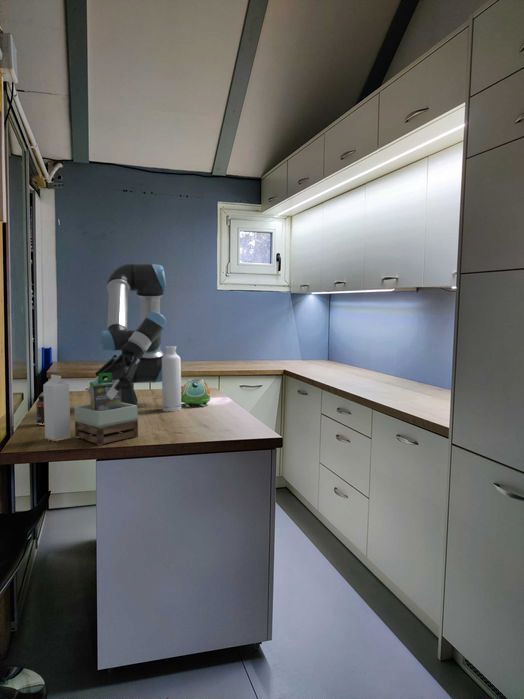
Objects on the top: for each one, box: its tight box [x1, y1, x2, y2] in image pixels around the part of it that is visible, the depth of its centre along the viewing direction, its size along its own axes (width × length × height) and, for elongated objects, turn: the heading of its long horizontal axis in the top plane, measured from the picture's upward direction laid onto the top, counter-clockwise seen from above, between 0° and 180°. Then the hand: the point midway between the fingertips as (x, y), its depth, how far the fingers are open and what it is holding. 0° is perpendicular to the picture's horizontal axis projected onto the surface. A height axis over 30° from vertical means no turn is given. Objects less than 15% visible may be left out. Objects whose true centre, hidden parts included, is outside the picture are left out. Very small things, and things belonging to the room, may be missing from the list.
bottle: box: [161, 345, 182, 412], centre depth 221 cm, size 8×8×28 cm
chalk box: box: [89, 373, 121, 412], centre depth 173 cm, size 9×9×15 cm
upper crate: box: [74, 402, 139, 427], centre depth 173 cm, size 15×15×5 cm
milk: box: [42, 374, 71, 440], centre depth 171 cm, size 6×6×22 cm
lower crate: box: [74, 419, 139, 446], centre depth 174 cm, size 15×15×6 cm
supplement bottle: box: [35, 394, 45, 424], centre depth 194 cm, size 6×6×11 cm
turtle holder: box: [181, 378, 211, 408], centre depth 233 cm, size 12×18×12 cm
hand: (98, 395), depth 171 cm, fingers closed on chalk box, 11 cm apart
